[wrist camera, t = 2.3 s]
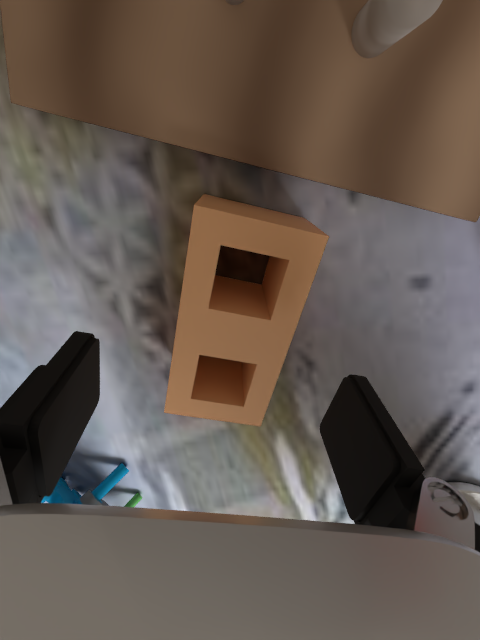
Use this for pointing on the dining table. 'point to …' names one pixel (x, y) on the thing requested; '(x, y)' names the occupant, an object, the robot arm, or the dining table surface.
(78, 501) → the gear
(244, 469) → the dining table surface
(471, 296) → the dining table surface
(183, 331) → the block with square holes
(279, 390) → the dining table surface
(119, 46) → the locating board
